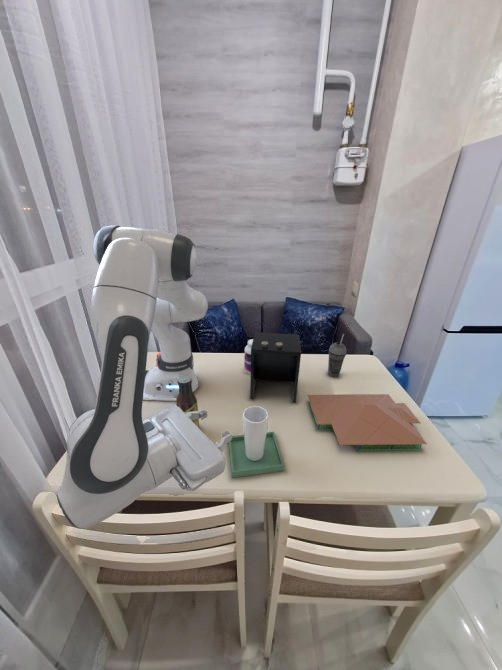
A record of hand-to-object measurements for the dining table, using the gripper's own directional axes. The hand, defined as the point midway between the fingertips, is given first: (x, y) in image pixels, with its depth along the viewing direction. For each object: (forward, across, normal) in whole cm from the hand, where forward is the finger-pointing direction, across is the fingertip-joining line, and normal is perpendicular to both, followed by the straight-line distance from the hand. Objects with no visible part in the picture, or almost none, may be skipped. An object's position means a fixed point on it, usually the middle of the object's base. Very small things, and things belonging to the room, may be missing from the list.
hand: (217, 423), depth 60 cm
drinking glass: (+12, 0, +20) cm, 23 cm away
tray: (+12, 0, +20) cm, 23 cm away
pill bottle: (+42, +33, +20) cm, 57 cm away
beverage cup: (+66, +8, +20) cm, 69 cm away
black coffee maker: (+39, +18, +20) cm, 47 cm away
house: (+48, -15, +20) cm, 54 cm away
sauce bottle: (+3, +20, +20) cm, 29 cm away
